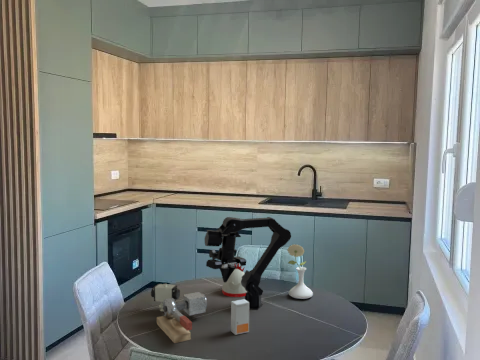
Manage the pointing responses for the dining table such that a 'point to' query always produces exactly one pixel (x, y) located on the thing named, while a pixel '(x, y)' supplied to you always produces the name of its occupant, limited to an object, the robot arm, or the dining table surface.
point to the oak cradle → (173, 329)
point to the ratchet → (177, 312)
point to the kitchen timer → (234, 284)
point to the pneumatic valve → (164, 293)
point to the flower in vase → (299, 274)
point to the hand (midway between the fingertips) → (224, 282)
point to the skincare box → (240, 316)
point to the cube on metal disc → (195, 303)
